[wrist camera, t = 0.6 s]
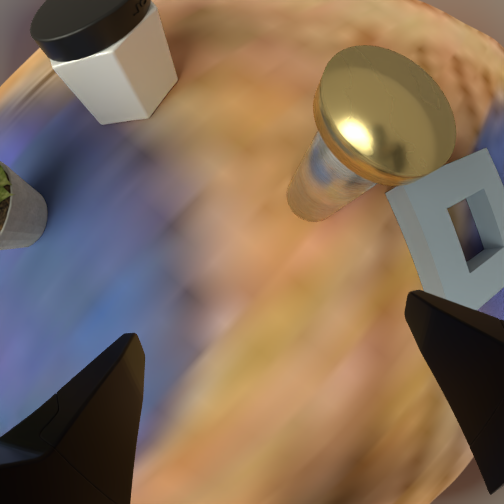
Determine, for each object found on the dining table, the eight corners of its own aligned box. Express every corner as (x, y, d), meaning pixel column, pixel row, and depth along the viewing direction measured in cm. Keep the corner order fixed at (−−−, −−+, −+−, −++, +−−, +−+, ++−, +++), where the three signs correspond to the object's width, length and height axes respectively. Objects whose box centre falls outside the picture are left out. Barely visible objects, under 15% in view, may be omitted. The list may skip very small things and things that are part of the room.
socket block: (508, 265, 23) (527, 264, 20) (434, 323, 23) (454, 327, 20) (468, 157, 24) (486, 147, 21) (385, 193, 23) (402, 183, 20)
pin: (358, 216, 23) (476, 153, 9) (295, 243, 23) (373, 197, 9) (327, 153, 23) (406, 41, 9) (264, 176, 23) (294, 57, 9)
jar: (191, 95, 23) (166, -10, 11) (109, 144, 23) (35, 66, 11) (153, 40, 24) (123, -49, 12) (81, 82, 23) (25, 7, 11)
